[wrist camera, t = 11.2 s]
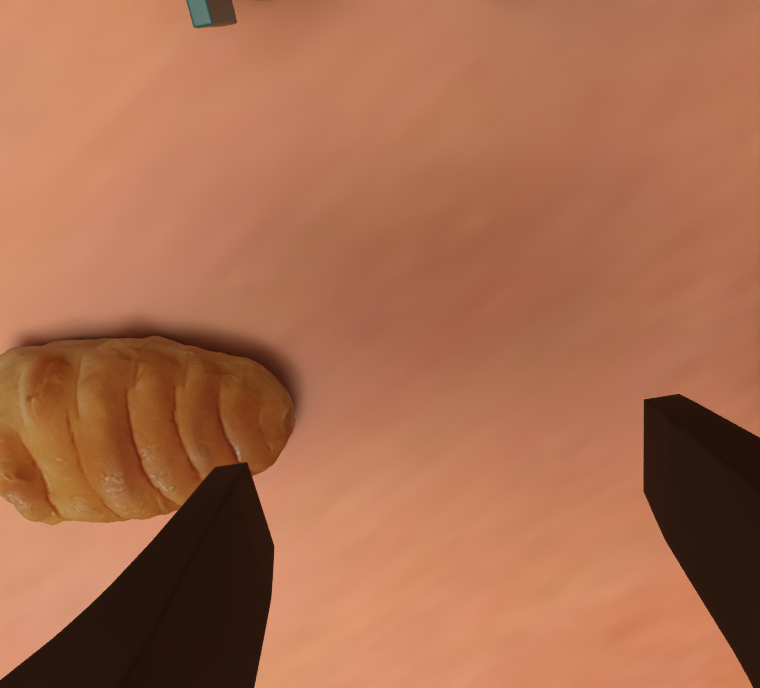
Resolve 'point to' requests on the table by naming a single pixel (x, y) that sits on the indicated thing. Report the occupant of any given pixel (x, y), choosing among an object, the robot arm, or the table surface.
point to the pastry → (130, 425)
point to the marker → (211, 13)
